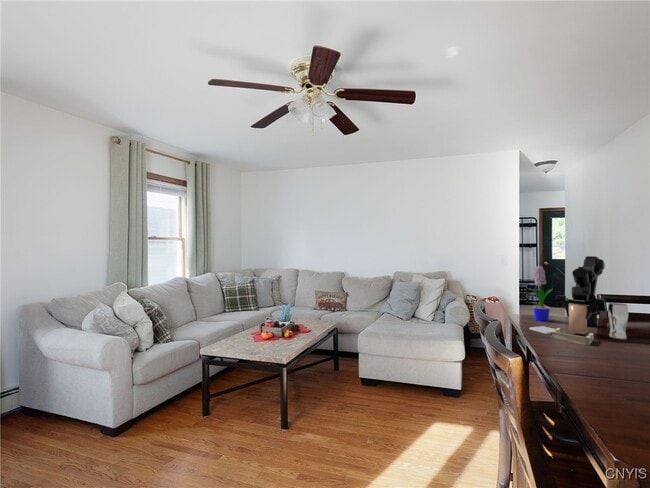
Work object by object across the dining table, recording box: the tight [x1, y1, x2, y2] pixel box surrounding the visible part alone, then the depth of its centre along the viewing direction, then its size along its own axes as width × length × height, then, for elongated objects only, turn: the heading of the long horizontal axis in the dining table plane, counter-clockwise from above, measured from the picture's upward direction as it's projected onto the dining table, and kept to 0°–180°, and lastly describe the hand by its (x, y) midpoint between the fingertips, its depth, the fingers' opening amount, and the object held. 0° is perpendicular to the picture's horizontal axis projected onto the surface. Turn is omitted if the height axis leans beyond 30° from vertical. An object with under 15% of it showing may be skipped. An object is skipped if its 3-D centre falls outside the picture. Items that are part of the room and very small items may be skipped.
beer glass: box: [607, 302, 629, 340], centre depth 154 cm, size 7×7×15 cm
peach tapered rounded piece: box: [567, 303, 588, 335], centre depth 159 cm, size 7×7×12 cm
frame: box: [550, 327, 595, 346], centre depth 152 cm, size 10×13×3 cm
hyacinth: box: [530, 265, 554, 323], centre depth 187 cm, size 9×10×30 cm
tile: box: [529, 325, 556, 335], centre depth 167 cm, size 9×9×1 cm
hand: (577, 317), depth 158 cm, fingers closed on peach tapered rounded piece, 7 cm apart
